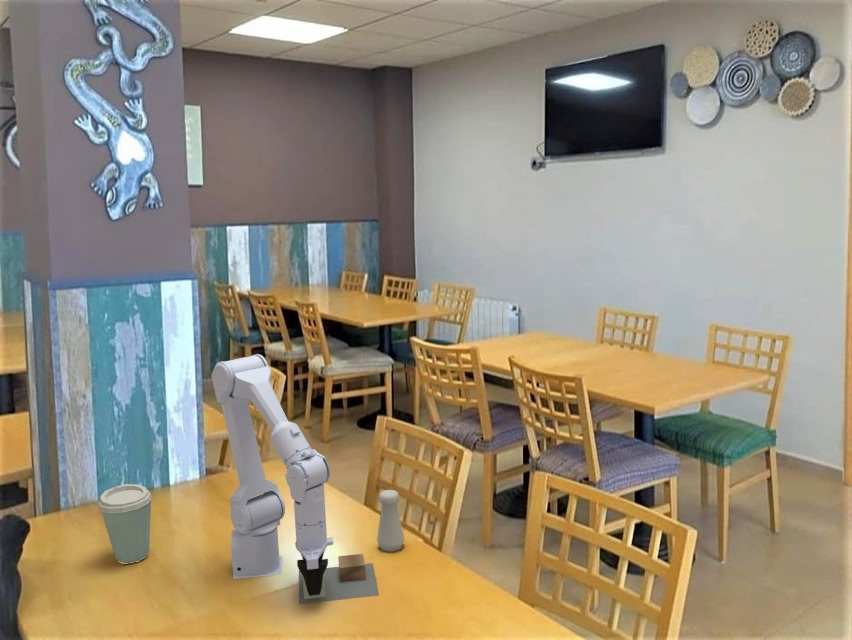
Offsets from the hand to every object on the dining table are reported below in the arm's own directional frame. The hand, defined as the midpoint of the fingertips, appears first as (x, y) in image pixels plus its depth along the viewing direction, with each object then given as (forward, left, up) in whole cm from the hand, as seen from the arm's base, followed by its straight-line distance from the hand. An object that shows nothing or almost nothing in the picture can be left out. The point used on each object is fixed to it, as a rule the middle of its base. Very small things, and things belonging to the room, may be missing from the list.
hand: (314, 586), depth 147 cm
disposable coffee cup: (-38, +24, -2) cm, 45 cm away
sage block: (0, 0, -1) cm, 1 cm away
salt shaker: (+16, +16, -2) cm, 23 cm away
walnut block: (+8, +5, -1) cm, 9 cm away
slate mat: (+4, +3, -2) cm, 6 cm away
